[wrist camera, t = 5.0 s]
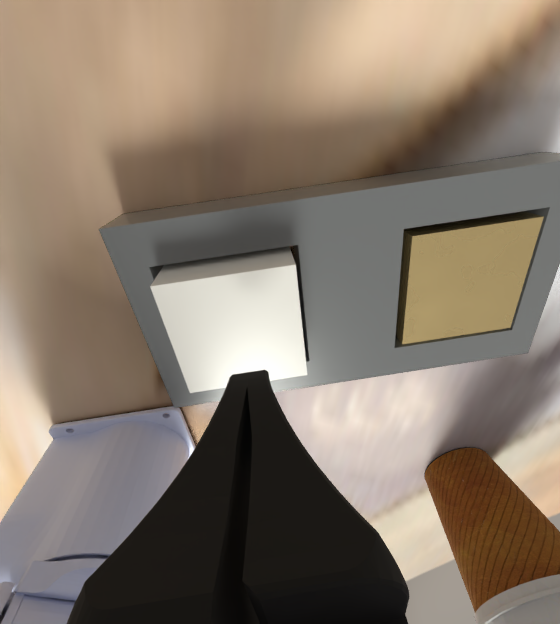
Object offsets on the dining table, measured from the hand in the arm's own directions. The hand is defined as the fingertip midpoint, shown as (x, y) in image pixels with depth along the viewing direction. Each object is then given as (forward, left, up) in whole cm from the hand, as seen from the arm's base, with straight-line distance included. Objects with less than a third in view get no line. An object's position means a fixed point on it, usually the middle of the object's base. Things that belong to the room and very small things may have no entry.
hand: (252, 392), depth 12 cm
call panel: (+5, 0, -8) cm, 10 cm away
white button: (-1, 0, -7) cm, 7 cm away
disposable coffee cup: (+16, -22, -9) cm, 29 cm away
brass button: (+11, 0, -8) cm, 14 cm away
